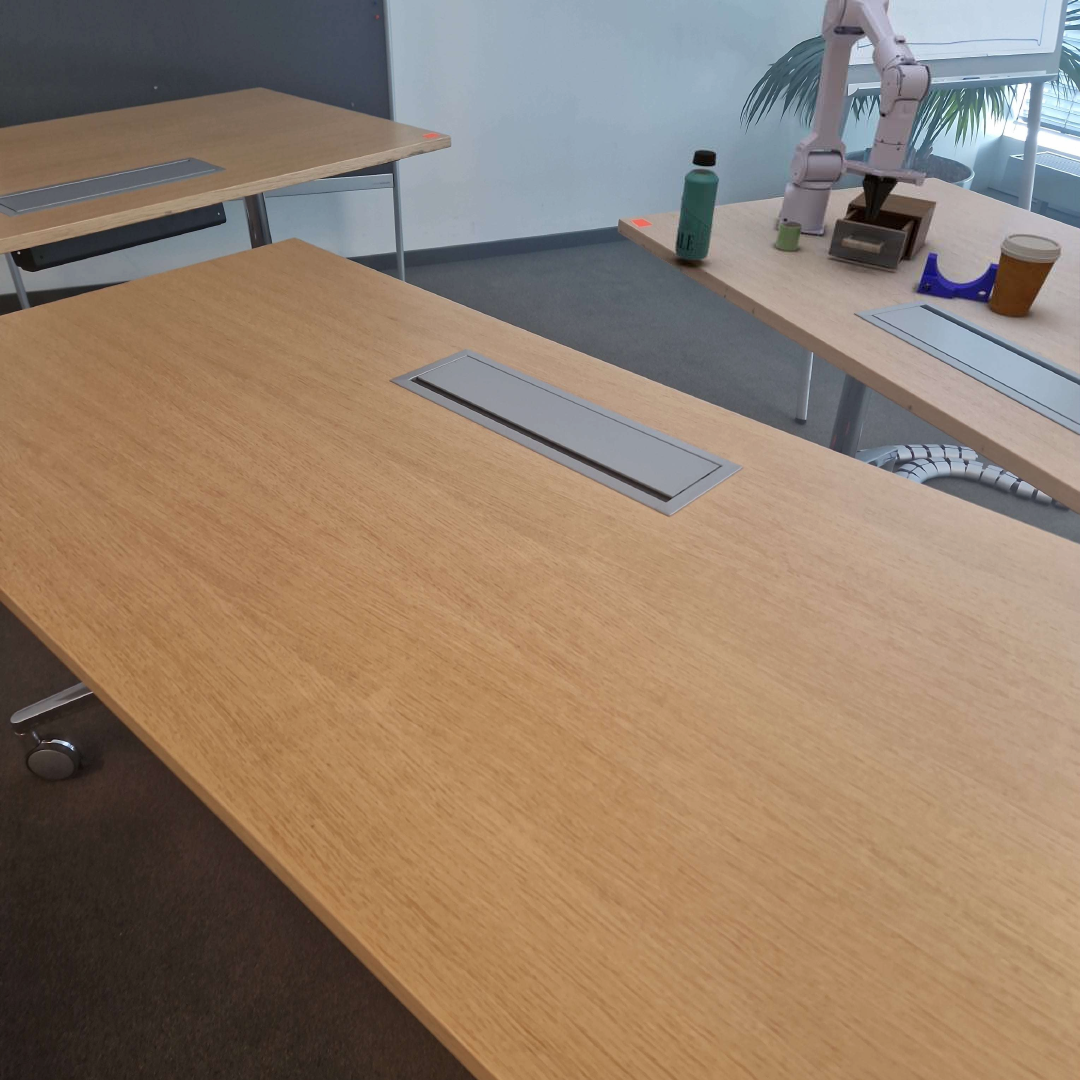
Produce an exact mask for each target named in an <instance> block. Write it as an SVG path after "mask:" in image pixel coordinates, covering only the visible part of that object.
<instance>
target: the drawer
mask: <svg viewBox="0 0 1080 1080" xmlns="http://www.w3.org/2000/svg"><path fill="white" fill-rule="evenodd" d="M865 216H866V210H862V209H856V208H855V209H854V210H853V211H851V212H850V213H849V214H848V215H847V216H846V215H845V216H844V217H843V218H837V219H836V220H835V225H834V229H833V233H832V237H831V241H830V246H829V250H828V255H829V256H834V257H838V258H844V259H848V260H853V261H857V262H861V263H867V264H871V265H876V266H880V267H886V268H890V269H894V270H896V269H898V267H899V263H900V260H901V259H902V256H903V255H904V254H905V253H906V252H907V251H908V249H909V246H910V242H911V239H912V235H913V232H914V228H915V225H916V222H917V220H914V219H909V218H904V217H898V216H893V215H888V214H883V213H878V215H877V218H876V219H875V220H874V221H870V220H865Z"/></svg>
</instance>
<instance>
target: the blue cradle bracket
mask: <svg viewBox="0 0 1080 1080" xmlns="http://www.w3.org/2000/svg"><path fill="white" fill-rule="evenodd" d="M938 256H939V254H938V253H934V252H929V253H928V256H927V259H926V262H925V265H924V269H923V271H922V275H921V277H920V281H919V285H918V288H917V290H916V292H917V293H919V294H923V295H929V296H935V297H940V298H946V299H951V300H952V299H953V297H956V298H960V299H967V300H971V301H977V302H982V303H988V302H989V300H990V298H991V297H990V296H991V295H992V292H993V287H994V282H995V278H996V274H997V269H998V264H999V263H993V262H991V263H990V264H989V266H988V268H987V269H986V271H985V272H984V273H983V274H982V275H981V276H980V277H978V278H976V279H975V280H972V281H969V282H964V283H963V282H962V283H961V282H954V281H951V280H950V279H947V278H946V277H945V276H944V275H943V274H942V273H941V271H940V270H939V267H938ZM982 292H983V293H984V294H981V293H982Z"/></svg>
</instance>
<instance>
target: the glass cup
mask: <svg viewBox="0 0 1080 1080" xmlns="http://www.w3.org/2000/svg"><path fill="white" fill-rule="evenodd" d="M801 230H802V225H801V224H800V223H797V222H792V221H784V222H781V223H780V226H779V229H778V231H777V237H776V242H775V248H776V249H778V250H781V251H784V252H785V251H786V252H793V251H797V250H798V248H799V243H800V239H801V235H802V232H801Z"/></svg>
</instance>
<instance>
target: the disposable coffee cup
mask: <svg viewBox="0 0 1080 1080" xmlns="http://www.w3.org/2000/svg"><path fill="white" fill-rule="evenodd" d="M1061 249H1062V245H1061V244H1060V243H1059V242H1058V241H1056V240H1054V239H1051V238H1048V237H1045V236H1041V235H1035V234H1028V233H1011V234H1008V235H1006V237H1005V238H1004V240H1003V241H1002V242H1001V243H1000V256H999V261H998V263H997V264H998V269H997V274H996V278H995V282H994V286H993V288H992V291H991V295H990V296H991V297H990V301H989V304H988V307H989V308H990V310H992V311H993V312H995V313H997V314H1000V315H1003V316H1008V317H1025V316H1027V315H1028V314H1029V311H1030V310H1031V308H1032V306H1033V304H1034V302H1035V300H1036V299H1037V297H1038V295H1039V293H1040V291H1041V289H1042V287H1043V285H1044V283H1045V281H1046V280H1047V278H1048V276H1049V274H1050V272H1051V270H1052V269H1053V268H1054V265H1055V263H1056V262H1057V261H1058V260H1059V259H1060V258H1061V256H1062V252H1061V251H1062V250H1061Z"/></svg>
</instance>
